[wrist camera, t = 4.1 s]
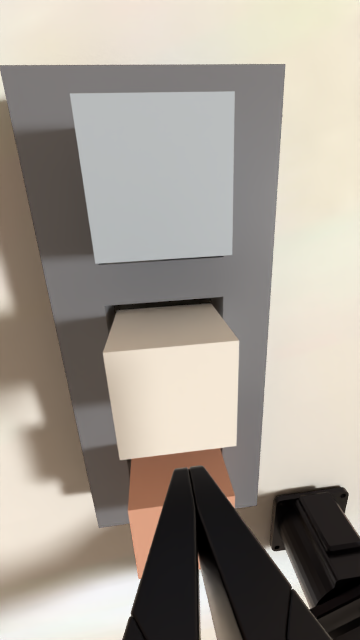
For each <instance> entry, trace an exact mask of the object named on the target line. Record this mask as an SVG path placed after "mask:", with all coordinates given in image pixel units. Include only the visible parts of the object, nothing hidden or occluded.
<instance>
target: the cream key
mask: <svg viewBox="0 0 360 640" xmlns="http://www.w3.org/2000/svg"><path fill="white" fill-rule="evenodd" d="M103 358H104V364H105V370H106V377H107V383H108V389H109V396H110V402H111V408H112V414H113V421H114V427H115V433H116V440H117V446H118V452H119V459H120V460H126V459H134V458H142V457H150V456H158V455H167V454H175V453H183V452H191V451H199V450H207V449H216V448H224V447H232V446H236V443H237V406H238V369H239V340H238V338H237V337H236V336H235V334H234V333H233V332H232V330H231V329H230V328H229V326H228V325H227V324H226V322H225V321H224V320H223V318H222V317H221V316H220V314H219V313H218V312H217V310H216V309H215V308H214V307H213V305H212V304H211V303H206V304H193V305H180V306H167V307H155V308H142V309H129V310H117V312H116V315H115V318H114V321H113V324H112V327H111V330H110V333H109V336H108V339H107V342H106V345H105V348H104V351H103Z"/></svg>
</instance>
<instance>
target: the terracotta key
mask: <svg viewBox="0 0 360 640" xmlns="http://www.w3.org/2000/svg"><path fill="white" fill-rule="evenodd" d="M200 465H202V466H204V467H205V468H206V470H207V471H208V473H209V474H210V475H211V477H212V478H213V479H214V481H215V482H216V483H217V485H218V486H219V488H220V489H221V490H222V492H223V493H224V494H225V496H226V497H227V498H228V500H229V501H230V503H231V504H232V505H233V507H234V508H235V494H234V491H233V488H232V485H231V481H230V478H229V475H228V472H227V469H226V466H225V462H224V459H223V456H222V453H221V450H220V448H216V449H207V450H199V451H191V452H183V453H175V454H167V455H158V456H150V457H142V458H134V459H131V472H130V486H129V501H128V515H129V521H130V528H131V534H132V540H133V547H134V553H135V559H136V566H137V572H138V578H139V579H141V577H142V574H143V570H144V567H145V564H146V560H147V557H148V554H149V550H150V547H151V544H152V540H153V537H154V534H155V530H156V527H157V524H158V520H159V517H160V514H161V511H162V507H163V504H164V501H165V497H166V494H167V491H168V487H169V484H170V481H171V477H172V474H173V471H174V469H176V468H184V467H187V468H188V469H189V468H190V467H192V466H200ZM198 564H199V569H201V567H200V563H199V557H198Z"/></svg>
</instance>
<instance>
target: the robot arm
mask: <svg viewBox="0 0 360 640" xmlns="http://www.w3.org/2000/svg"><path fill="white" fill-rule="evenodd" d="M348 495H349V494H348V492H347V491H346V489H345V488H343V487H340V488H333V489H326V490H319V491H312V492H305V493H297V494H290V495H283V496H278V497H276V498H275V499H274V506H273V517H272V527H271V538H270V546H271V548H272V550H273V551H281V550H286V552H287V554H288V556H289V559H290V561H291V564H292V566H293V568H294V571H295V573H296V576H297V578H298V580H299V583H300V585H301V588H302V590H303V592H304V595H305V597H306V599H307V602H308V604H309V607H310V609H308V607H307V606H306V605H305V603H304V602H303V600H302V599H301V598H300V596H299V595H298V594H297V592H296V591H295V590H294V589H292V590H291V588H292V587H291V584H290V583H289V582H288V580H287V579H286V578H285V576H284V575H283V573H282V572H281V571H280V569H279V568H278V567H277V565H276V564H275V563H274V561H273V560H272V558H271V557H270V556H269V554H268V553H267V552H266V550H265V549H264V548H263V546H262V545H261V543H260V542H259V541H258V539H257V538H256V537H255V535H254V534H253V533H252V531H251V530H250V528H249V527H248V526H247V524H246V523H245V522H244V520H243V519H242V518H241V516H240V515H239V513H238V512H237V511H236V509H235V508H234V507H233V505H232V504H231V503H230V501H229V500H228V498H227V497H226V496H225V494H224V493H223V492H222V490H221V489H220V488H219V486H218V485H217V483H216V482H215V481H214V479H213V478H212V477H211V475H210V474H209V473H208V471H207V470H206V468H205V467H204V466H202V465H200V466H192V467H190V468H189V469H188V468H187V467H184V468H176V469H174V471H173V474H172V477H171V481H170V484H169V487H168V491H167V494H166V497H165V501H164V504H163V507H162V511H161V514H160V517H159V520H158V524H157V527H156V530H155V534H154V537H153V540H152V544H151V547H150V550H149V554H148V557H147V560H146V564H145V567H144V570H143V574H142V577H141V580H140V584H139V587H138V590H137V593H136V597H135V600H134V603H133V607H132V610H131V616H130V617H129V619H128V623H127V626H126V629H125V633H124V636H123V639H122V640H201V628H200V595H199V564H198V557H199V563H200V567H201V572H202V576H203V581H204V585H205V589H206V594H207V598H208V602H209V607H210V611H211V615H212V620H213V624H214V628H215V633H216V637H217V640H360V536H359V535H358V533H357V532H356V530H355V529H354V527H353V526H352V524H351V523H350V521H349V520H348V518H347V517H346V515H345V509H346V504H347V500H348Z"/></svg>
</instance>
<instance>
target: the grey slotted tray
mask: <svg viewBox="0 0 360 640" xmlns="http://www.w3.org/2000/svg"><path fill="white" fill-rule="evenodd" d="M0 71H1V76H2V80H3V85H4V90H5V94H6V99H7V104H8V108H9V113H10V118H11V122H12V127H13V131H14V136H15V141H16V145H17V150H18V155H19V159H20V164H21V169H22V173H23V178H24V183H25V187H26V192H27V196H28V201H29V206H30V210H31V215H32V220H33V224H34V229H35V234H36V238H37V243H38V247H39V252H40V257H41V261H42V266H43V271H44V275H45V280H46V285H47V289H48V294H49V299H50V303H51V308H52V312H53V317H54V322H55V326H56V331H57V336H58V340H59V345H60V350H61V354H62V359H63V363H64V368H65V373H66V377H67V382H68V387H69V391H70V396H71V401H72V405H73V410H74V415H75V419H76V424H77V428H78V433H79V438H80V442H81V447H82V452H83V456H84V461H85V466H86V470H87V475H88V479H89V484H90V489H91V493H92V498H93V503H94V507H95V512H96V517H97V521H98V526H99V528H102V527H109V526H116V525H123V524H130V521H129V515H128V501H129V486H130V472H131V459H126V460H120V459H119V452H118V446H117V440H116V433H115V427H114V421H113V414H112V408H111V402H110V396H109V389H108V383H107V377H106V370H105V364H104V358H103V351H104V348H105V345H106V342H107V339H108V336H109V333H110V330H111V327H112V324H113V321H114V318H115V313H114V305H122V304H135V303H149V302H162V301H175V300H188V299H201V298H211V304H212V305H213V307H214V308H215V309H216V310H217V312H218V313H219V314H220V316H221V317H222V318H223V320H224V321H225V322H226V324H227V325H228V326H229V328H230V329H231V330H232V332H233V333H234V334H235V336H236V337H237V338H238V340H239V369H238V406H237V443H236V446H232V447H224V448H220V450H221V453H222V456H223V459H224V462H225V466H226V469H227V472H228V475H229V478H230V481H231V485H232V488H233V491H234V494H235V509H236V508H243V507H250V506H257V494H258V479H259V464H260V448H261V433H262V417H263V402H264V386H265V371H266V355H267V340H268V324H269V309H270V293H271V278H272V262H273V247H274V232H275V216H276V201H277V185H278V170H279V154H280V139H281V123H282V108H283V92H284V77H285V64H218V65H0ZM225 91H235V109H234V173H233V237H232V255H225V256H209V257H194V258H178V259H162V260H146V261H131V262H115V263H99V264H95V258H94V251H93V245H92V238H91V231H90V225H89V218H88V211H87V205H86V198H85V191H84V185H83V178H82V172H81V165H80V158H79V152H78V145H77V138H76V132H75V125H74V118H73V112H72V105H71V98H70V93H147V92H225Z"/></svg>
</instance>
